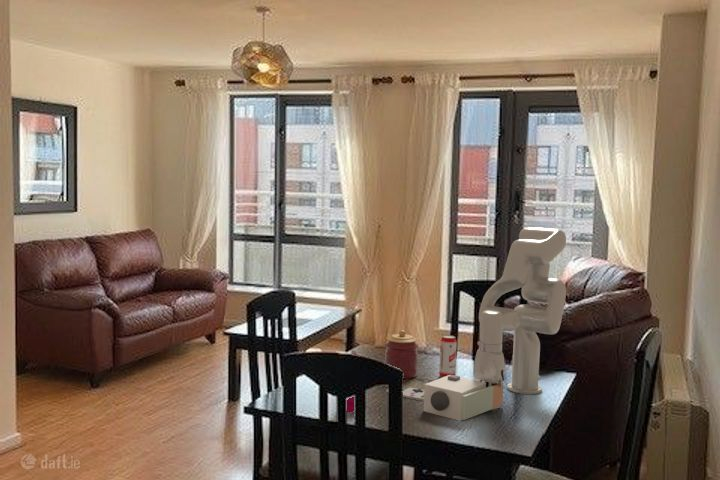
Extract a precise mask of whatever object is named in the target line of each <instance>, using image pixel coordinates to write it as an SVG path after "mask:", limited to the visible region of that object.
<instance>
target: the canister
mask: <svg viewBox="0 0 720 480" xmlns="http://www.w3.org/2000/svg"><path fill="white" fill-rule="evenodd" d="M385 347H386V350H385V352H384V355H385V356H384V364H385V363H387V364H390V365H392V366H395V367H397V368H400V369H401V370H402V371H403V373H404V380H405V379H406V380H407V379H412V378H416V377H417V375H418V361H419V360H418V359H419V358H418V357H419V353H418V348H419V347H420V346H419V344H417V338H416V337H414V336H413V335H410V334H408V333H407V332H406V331H405V330H403V329H401V330H399V333H394V334H391V335H390V336H388V337H387V342H385Z"/></svg>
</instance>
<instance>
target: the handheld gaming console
mask: <svg viewBox="0 0 720 480" xmlns="http://www.w3.org/2000/svg"><path fill="white" fill-rule="evenodd" d="M402 392H403V397H402V398H405V397H406V399H411V400H415V399H416V401H421V402H424V389H422V388H417V387H408V388H406V389H405V390H402Z"/></svg>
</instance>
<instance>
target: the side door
mask: <svg viewBox="0 0 720 480" xmlns="http://www.w3.org/2000/svg"><path fill="white" fill-rule="evenodd" d="M503 398H504V385H503V386H502V387H499V385H497V384H496V385H493V386H490V387H487V388H484V389H481V390H478V391H475V392H472V393H469V394H466V395H463V396H462V412H461V419H462V421H465V420H467V419H470V418H473V417H475V416H478V415H480V414H483V413H486V412H489V411H492V410H493V409H497V408H499V407H502V406H503V402H504V401H503V400H504V399H503Z"/></svg>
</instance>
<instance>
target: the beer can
mask: <svg viewBox="0 0 720 480" xmlns="http://www.w3.org/2000/svg"><path fill="white" fill-rule="evenodd" d="M456 339H457V338H456V336H455V335H451V334H450V335H448V334H444V335H442V336H441V339H440V342H439V343H440V344H439V345H440V346H439V347H440V348H439V350H440V351H439V367H438V368H439V371H438V375H439V376H440V378H443V377H445V376H448V375H456V368H457V367H456V366H457V365H456V364H457V340H456Z"/></svg>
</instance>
